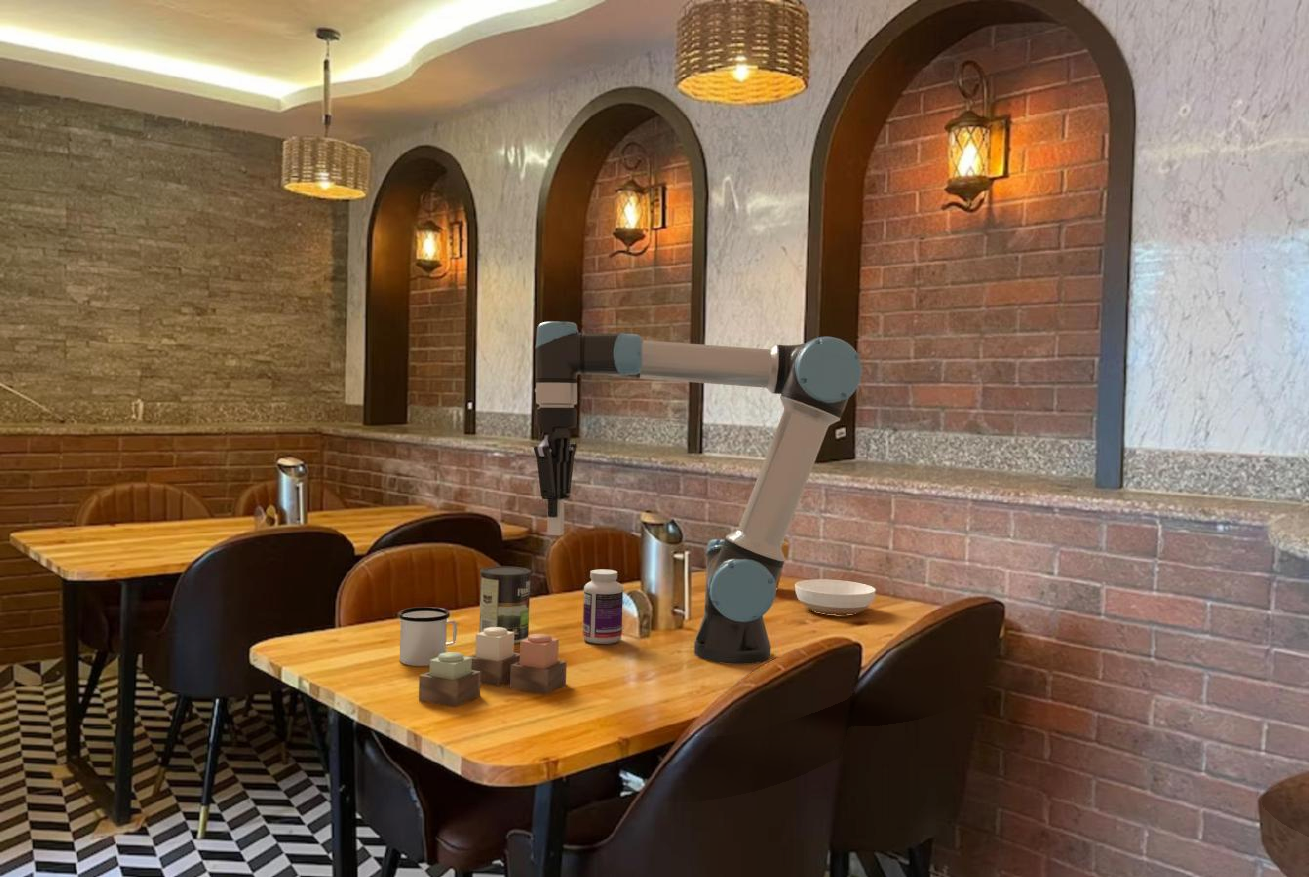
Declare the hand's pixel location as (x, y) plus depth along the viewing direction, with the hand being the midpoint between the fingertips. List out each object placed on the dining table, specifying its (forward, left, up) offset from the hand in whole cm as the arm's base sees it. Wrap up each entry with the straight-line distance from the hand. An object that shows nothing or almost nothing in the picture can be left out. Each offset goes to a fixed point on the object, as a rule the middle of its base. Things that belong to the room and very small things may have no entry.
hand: (555, 534), depth 179 cm
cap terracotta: (-4, +12, -23) cm, 26 cm away
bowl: (-34, -79, -25) cm, 90 cm away
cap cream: (+5, +12, -23) cm, 26 cm away
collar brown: (-4, +12, -25) cm, 28 cm away
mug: (+22, +8, -25) cm, 34 cm away
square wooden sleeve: (+5, +12, -25) cm, 28 cm away
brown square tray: (+5, +25, -25) cm, 35 cm away
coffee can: (+19, -13, -25) cm, 33 cm away
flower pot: (-10, -95, -25) cm, 99 cm away
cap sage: (+5, +25, -24) cm, 35 cm away
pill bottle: (+1, -22, -25) cm, 33 cm away
